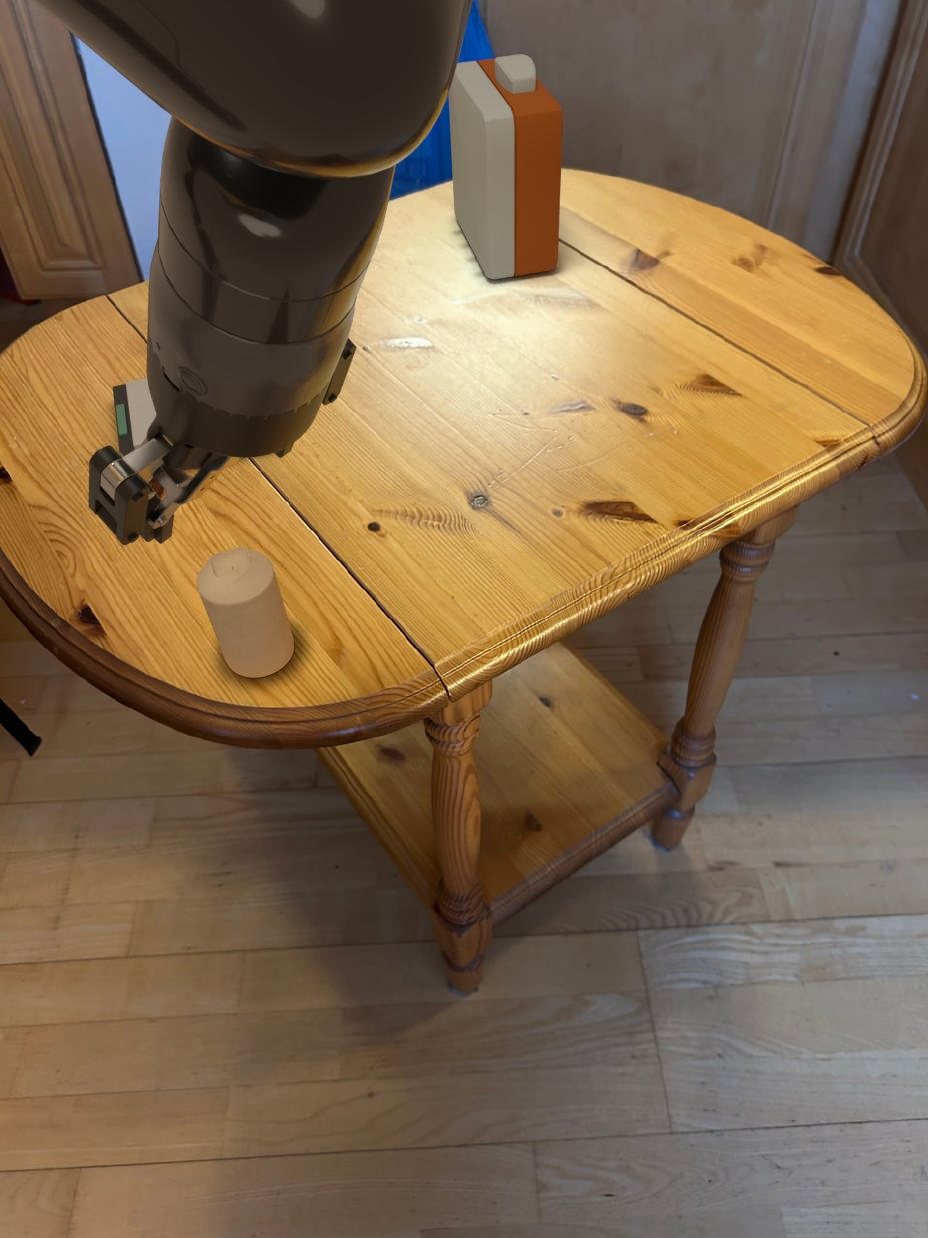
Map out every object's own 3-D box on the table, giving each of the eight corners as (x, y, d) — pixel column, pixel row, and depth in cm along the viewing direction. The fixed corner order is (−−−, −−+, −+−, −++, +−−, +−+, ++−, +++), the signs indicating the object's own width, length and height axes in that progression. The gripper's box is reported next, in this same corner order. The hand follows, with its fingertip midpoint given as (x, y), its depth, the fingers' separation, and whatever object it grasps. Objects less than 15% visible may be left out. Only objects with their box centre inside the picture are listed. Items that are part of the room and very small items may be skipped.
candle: (211, 667, 70) (175, 578, 62) (248, 617, 73) (218, 526, 66) (273, 687, 68) (243, 598, 61) (307, 635, 72) (283, 544, 64)
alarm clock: (559, 274, 108) (566, 84, 92) (488, 285, 107) (483, 95, 91) (517, 208, 120) (518, 30, 104) (453, 217, 119) (444, 39, 103)
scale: (128, 482, 85) (117, 455, 83) (120, 405, 94) (109, 379, 91) (264, 451, 88) (257, 424, 85) (244, 379, 96) (237, 353, 93)
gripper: (317, 179, 39) (266, 369, 53) (26, 341, 33) (59, 504, 47) (433, 313, 39) (351, 465, 54) (166, 497, 33) (156, 611, 48)
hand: (214, 483), depth 50 cm, fingers open, 8 cm apart
